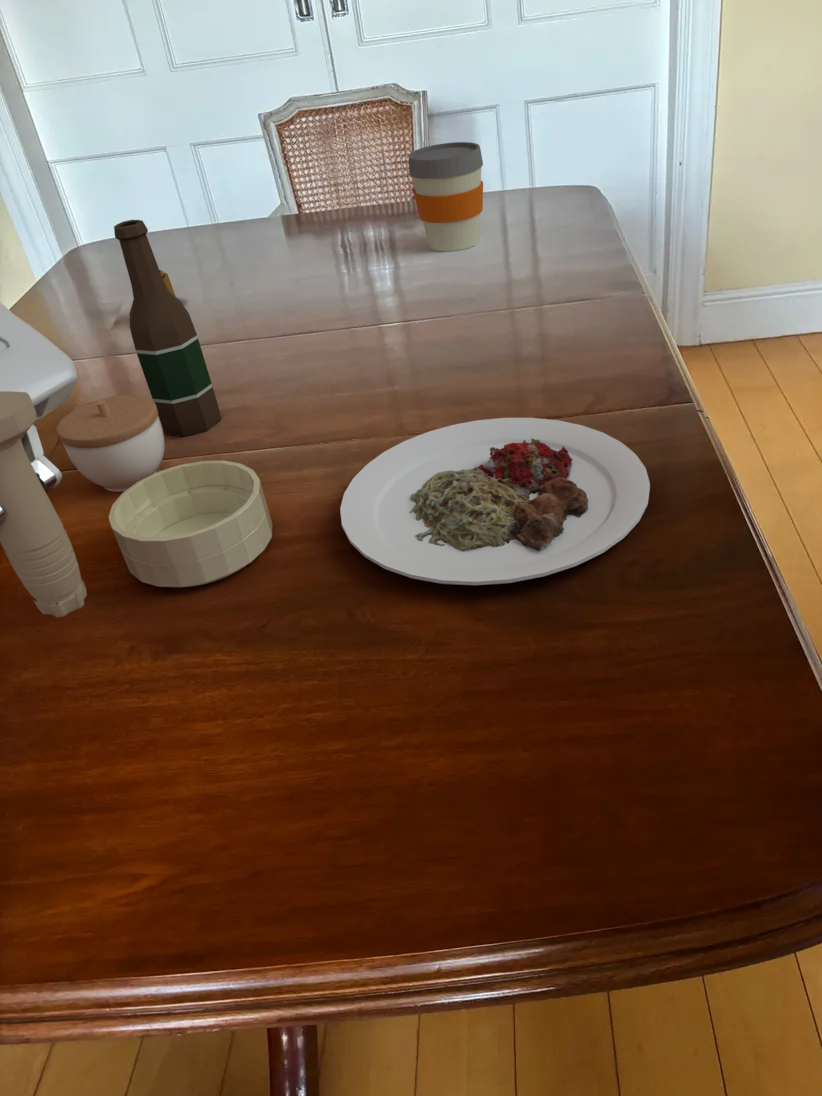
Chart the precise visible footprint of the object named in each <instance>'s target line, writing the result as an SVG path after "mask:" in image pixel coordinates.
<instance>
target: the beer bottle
mask: <svg viewBox="0 0 822 1096" xmlns="http://www.w3.org/2000/svg"><path fill="white" fill-rule="evenodd" d="M113 232H114V238H115V239H116V240H118V242H119V244H120V249H121V252H122V255H123V260H124V262H125V266H126V270H127V274H128V277H129V282H130V285H131V290H132V291H131V292H132V297H133V300H132V303H131V307H130V310H129V330H130V334H131V338H132V342H133V346H134V349H135V350H134V351H135V353H136V356H137V359H138V362H139V364H140V367H141V370H142V373H143V376H144V378H145V381H146V384H147V387H148V390H149V393H150V396H151V400H152V401H154V403H155V404H156V407H157V410H158V416H159V419H160V422H161V426H162V430H163V432H164V433H165V434H166V435H168V434H170V436H176V435H179V436H178V437H184V436H185V437H188V436H187V435H189V436H192V434H193V435H196V434H200V433H205V432H207V431H209V430H210V429H211V428H213V427H214V426H215V425H216V424H218V423H219V422H221V419H222V416H221V412H220V409H219V403H218V400H217V397H216V393H215V391H214V386H213V384H212V380H211V377H210V373H209V370H208V366H207V364H206V360H205V357H204V353H203V350H202V347H201V344H200V340H199V337H198V336H199V335H198V334H197V331H196V328H195V326H194V323H193V320H192V317H191V315H190V313H189V311H188V310H187V308H186V307H185V306H184V304H182V303H183V302H182V300H181V299H179V298H178V297H177V296H176V295H175V296H176V297H175V296H174V295H173V294H172V293H171V292H169V290H168V288H167V286H166V284H165V282H164V280H163V278H162V276H161V273H160V270H161V269H160V268H159V264H158V262H157V260H156V257H155V254H154V252H153V249H152V246H151V243H150V241H149V238H148V235H147V234H148V232H149V229H148V227H147V225H146V224H145V223H144V221H143V220H142V219H128V220H124V221H121V222H120V223H117V224H116V225H113ZM177 298H178V299H177ZM181 302H182V303H181ZM171 434H172V435H171Z"/></svg>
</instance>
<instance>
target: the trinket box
mask: <svg viewBox="0 0 822 1096" xmlns="http://www.w3.org/2000/svg"><path fill="white" fill-rule="evenodd" d="M56 433H57V436H58V438H59V441H60V442H61V443H62V444H63V447H64V449H65V452H66V454H67V455H68V458H69V459H70V461H71V462H72V464H73V466H74V467H75V469H76V470H77V471H78V472H79V473H80V474H81V475H82V476H83V477H84V478H85V479H86V480H88V481H90V482H92V483H93V484H94V485H98V486H100V487H103V488H104V490H106V491H109V492H113V493H119V492H122V493H123V492H124V491H126V490H127V489H129V488H130V487H132V486H133V485H134V484H136V483H137V482H139V481H140V480H142V479H145V478H147V477H149V476H151V475H153V474H155V473H157V472H158V471H157V470H158V469H159V467H160V466H161V464H162V461H163V459H164V455H165V449H166V448H165V447H166V444H165V443H166V442H165V435H164V429H163V427H162V424H161V422H160V419H159V416H158V410H157V407H156V404H155V403H154V401H153V399H152V398H150V397H146V396H144V395H138V394H125V395H123V394H121V395H115V396H109V397H105V398H102V399H97V400H94V401H91V402H89V403H86V404H83V405H82V406H80V407H77V408H76V409H73V410H72V411H70V412H69V413H68V414H66V415H65V416H64V417H62V418H61V419H60V421H59V423H58V424H57V427H56Z"/></svg>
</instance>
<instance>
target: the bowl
mask: <svg viewBox="0 0 822 1096" xmlns="http://www.w3.org/2000/svg"><path fill="white" fill-rule="evenodd" d="M107 518H108V521H109V525H110V529H111V530H112V532H113V535H114V537H115V540H116V543H117V544H118V547H119V549H120V551H121V554H122V557H123V559H124V561H125V563H126V566H127V569H128V572H129V573H130V574H131V575H132V576H134V578H136V579H137V580H139V582H141V583H144V584H147V585H151V586H155V587H158V588H191V587H198V586H202V585H208V584H211V583H215V582H218V581H220V580H223V579H225V578H227V577H229V576H231V575H233V574H235V573H237V572H239V571H240V570H242V569H243V568H245V567H246V566H247V565H250V564H251V563H252V562H253V561H254V560H255V559H256V558H258V557H259V556H260V555H261V554H262V553H263V552H264V551H265V550H266V549H267V547H268V544H269V543H270V541H271V539H272V537H273V526H274V525H273V522H272V518H271V514H270V510H269V507H268V503H267V499H266V496H265V493H264V489H263V486H262V483H261V479H260V478H259V476H258V475H257V473H256V471H255V470H254V469H252V468H251V467H248V466H246V465H245V464H243V463H239V462H234V461H229V460H200V461H195V462H188V463H183V464H179V465H175V466H173V467H168V468H166V469H163V470H160V471H157V473H155V474H153V475H151V476H149V477H147V478H145V479H142V480H140V481H139V482H137V483H136V484H134V485H133V486H132V487H130V488H129V489H127V490H126V491H122V493H121V494H120V495H119V497H117V499H116V500H115V501H114V503H112V505H111V508H110V511H109V514H108V517H107Z"/></svg>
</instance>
